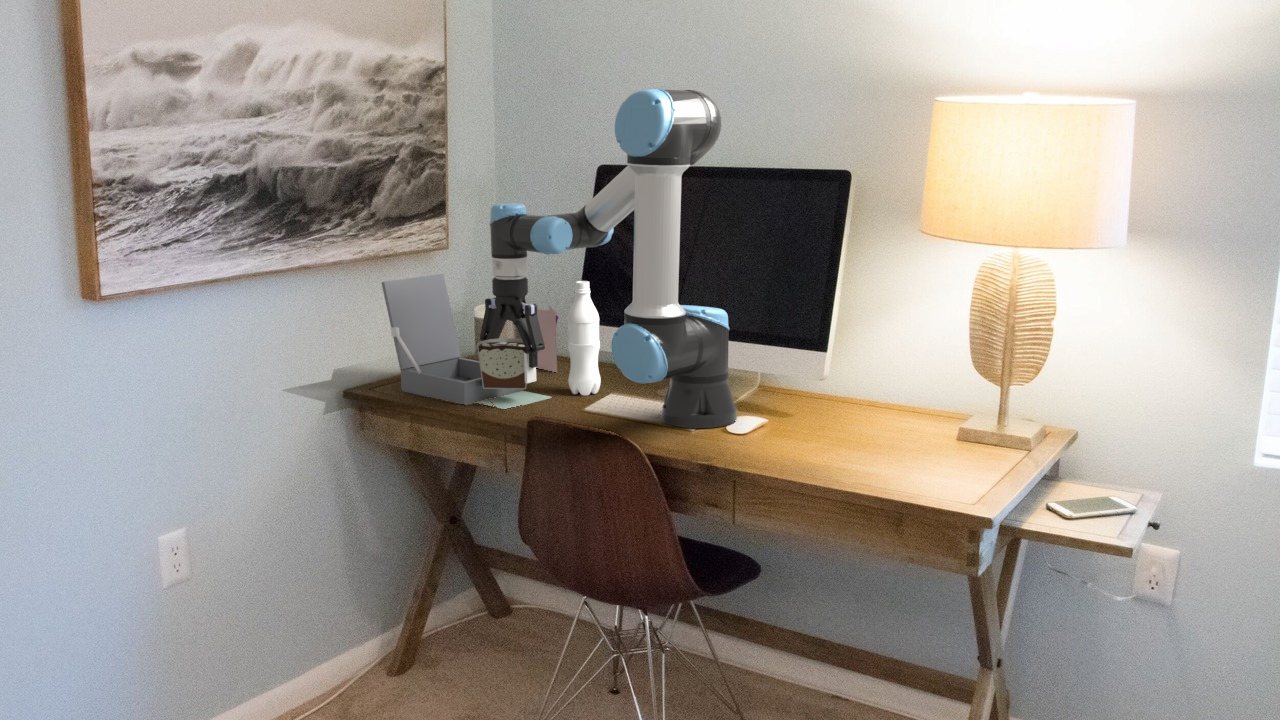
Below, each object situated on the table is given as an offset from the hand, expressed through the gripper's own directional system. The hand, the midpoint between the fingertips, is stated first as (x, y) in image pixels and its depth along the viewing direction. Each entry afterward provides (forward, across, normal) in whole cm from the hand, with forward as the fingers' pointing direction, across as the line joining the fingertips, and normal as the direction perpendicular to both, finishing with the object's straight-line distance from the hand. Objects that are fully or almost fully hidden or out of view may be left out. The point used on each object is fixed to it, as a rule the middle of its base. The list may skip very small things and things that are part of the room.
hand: (512, 377), depth 245 cm
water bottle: (+5, +7, +15) cm, 17 cm away
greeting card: (+6, -19, +27) cm, 33 cm away
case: (+5, -18, -1) cm, 19 cm away
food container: (+2, -2, 0) cm, 3 cm away
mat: (+5, 0, 0) cm, 5 cm away
